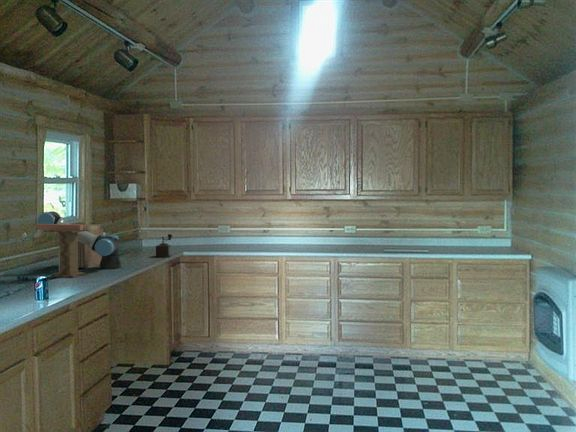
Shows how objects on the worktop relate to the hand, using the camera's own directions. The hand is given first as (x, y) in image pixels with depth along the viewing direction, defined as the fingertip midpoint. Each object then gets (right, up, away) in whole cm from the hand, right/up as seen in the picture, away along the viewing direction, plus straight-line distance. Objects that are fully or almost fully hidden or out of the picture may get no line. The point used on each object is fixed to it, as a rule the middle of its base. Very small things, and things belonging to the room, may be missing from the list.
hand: (33, 233), depth 387 cm
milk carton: (+17, -27, +13) cm, 34 cm away
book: (+25, -25, +36) cm, 50 cm away
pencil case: (+21, +2, -8) cm, 22 cm away
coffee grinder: (+68, -22, +91) cm, 115 cm away
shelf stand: (+27, -28, -8) cm, 39 cm away
